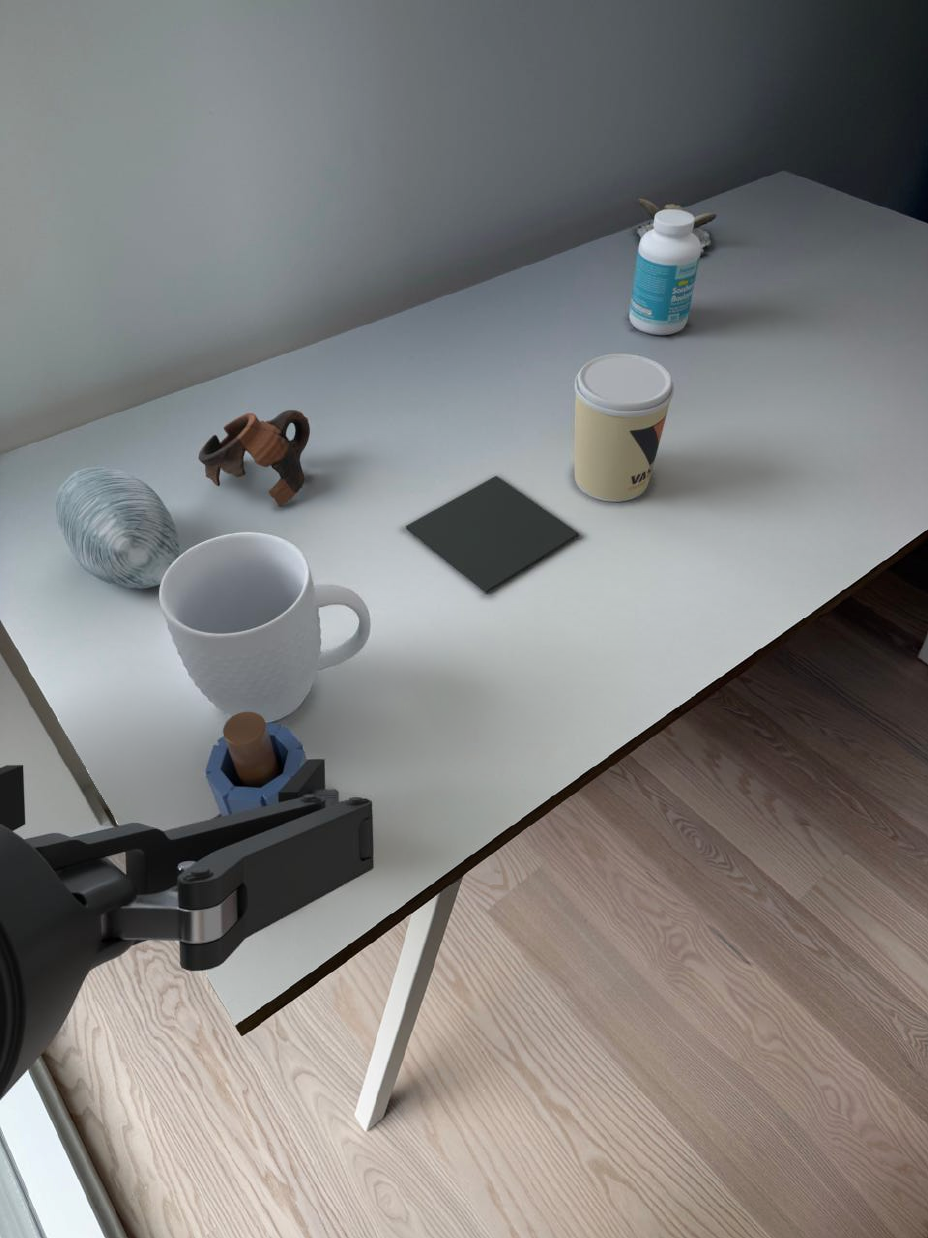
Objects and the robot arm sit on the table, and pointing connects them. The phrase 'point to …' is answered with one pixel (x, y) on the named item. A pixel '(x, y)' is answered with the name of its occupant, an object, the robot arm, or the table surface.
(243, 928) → the robot arm
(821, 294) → the table surface
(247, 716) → the dowel stand
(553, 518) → the mat
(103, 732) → the table surface
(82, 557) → the streaked grey ellipsoid
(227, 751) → the sleeve
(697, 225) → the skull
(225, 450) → the brown looped piece
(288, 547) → the mug
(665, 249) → the pill bottle
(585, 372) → the cream lidded canister
